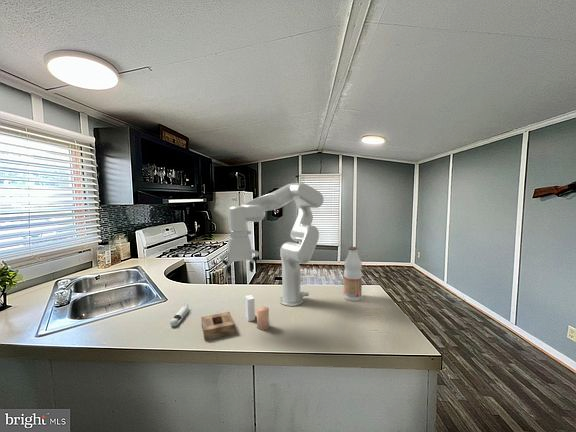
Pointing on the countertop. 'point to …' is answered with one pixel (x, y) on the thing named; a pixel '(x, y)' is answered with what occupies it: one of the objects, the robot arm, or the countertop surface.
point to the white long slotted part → (179, 315)
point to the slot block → (217, 325)
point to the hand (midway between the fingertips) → (240, 272)
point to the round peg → (263, 318)
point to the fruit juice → (352, 276)
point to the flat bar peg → (249, 307)
